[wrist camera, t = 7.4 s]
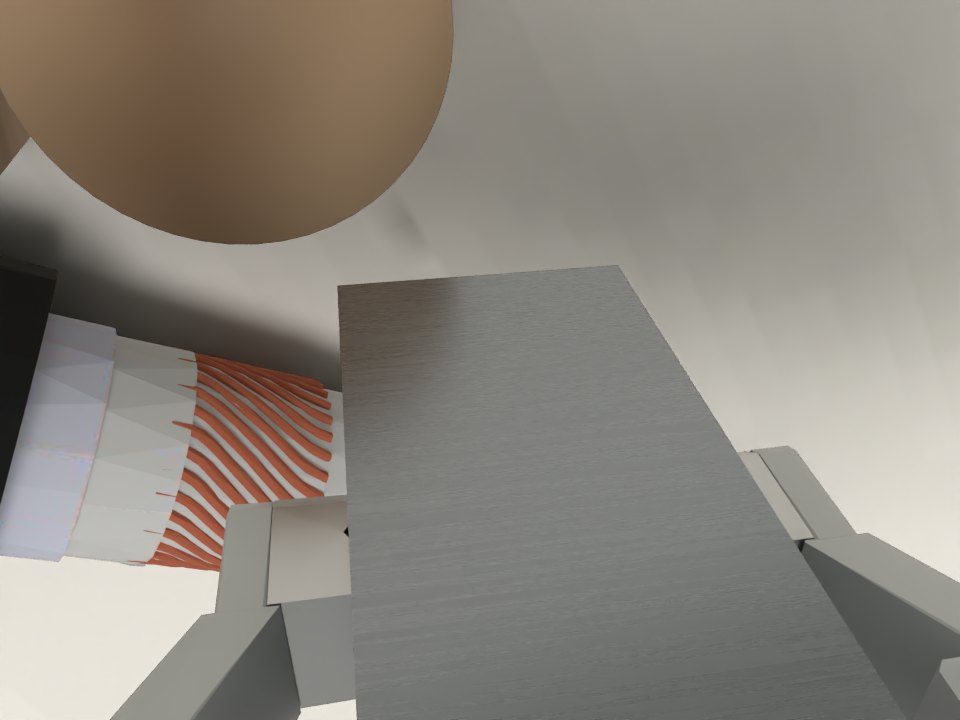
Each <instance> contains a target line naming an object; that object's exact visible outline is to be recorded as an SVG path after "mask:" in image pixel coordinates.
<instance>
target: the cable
mask: <svg viewBox="0 0 960 720" xmlns="http://www.w3.org/2000/svg"><path fill="white" fill-rule="evenodd" d="M57 273H58V271H57V270H53V269H49V268H45V267H41V266H37V265H33V264H29V263H25V262H21V261H17V260H13V259H9V258H5V257H1V256H0V556H9V557H19V558H28V559H37V560H46V561H55V562H59V561H60V559H61V558H62V556H70V557H79V558H87V559H95V560H104V561H112V562H119V563H123V564H127V565H131V566H145V564H155V565H162V566H169V567H185V568H192V569H200V570H213V571H218V572H220V566H221V558H222V550H223V542H224V534H225V526H226V518H227V513H228V511H229V509H230V507H231V505H237V504H250V503H263V502H274V501H275V500H287V499H299V498H311V497H323V496H335V495H347V486H346V464H345V442H344V419H343V397H342V392H338V391H333V390H329V389H324V384H322V383H319V380H316V379H312V378H307V377H303V376H298V375H293V374H288V373H283V372H280V371H276V370H271V369H265V368H260V367H257V366H253V365H249V364H243V363H238V362H233V361H230V360H226V359H222V358H217V357H211V356H206V355H203V354H199V353H195V352H192V351H188V350H183V349H179V348H175V347H173V348H172V347H168V346H163V345H158V344H154V343H149V342H144V341H140V340H135V339H131V338H126V337H121V336H117V334H116V328H113V327H109V326H104V325H100V324H95V323H91V322H87V321H82V320H78V319H73V318H69V317H65V316H60V315H56V314H51V313H49V311H50V307H51V302H52V298H53V294H54V289H55V285H56V280H57Z"/></svg>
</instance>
